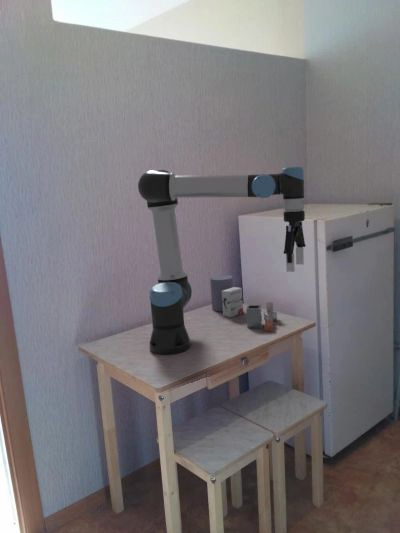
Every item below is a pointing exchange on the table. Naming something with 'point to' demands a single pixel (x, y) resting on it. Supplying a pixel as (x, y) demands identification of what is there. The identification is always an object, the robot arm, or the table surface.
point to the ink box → (232, 301)
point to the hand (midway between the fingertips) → (295, 267)
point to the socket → (254, 316)
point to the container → (219, 289)
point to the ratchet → (269, 317)
